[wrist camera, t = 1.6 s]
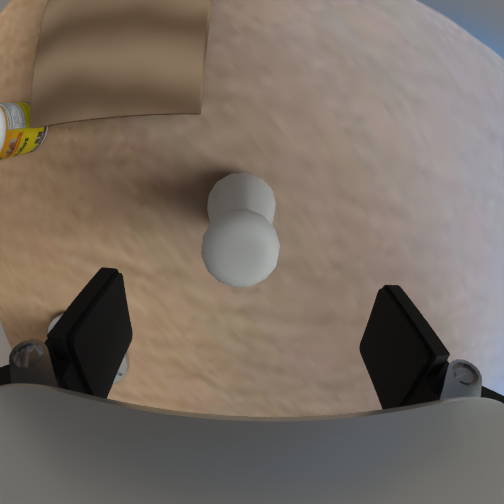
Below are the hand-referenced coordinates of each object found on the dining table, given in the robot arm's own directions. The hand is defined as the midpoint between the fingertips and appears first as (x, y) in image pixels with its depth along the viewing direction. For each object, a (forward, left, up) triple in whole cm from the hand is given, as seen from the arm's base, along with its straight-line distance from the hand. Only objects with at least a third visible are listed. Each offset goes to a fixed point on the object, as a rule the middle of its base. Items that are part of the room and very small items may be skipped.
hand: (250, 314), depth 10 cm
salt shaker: (0, 0, -19) cm, 19 cm away
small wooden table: (+15, +11, -18) cm, 26 cm away
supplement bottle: (+7, +24, -19) cm, 31 cm away
